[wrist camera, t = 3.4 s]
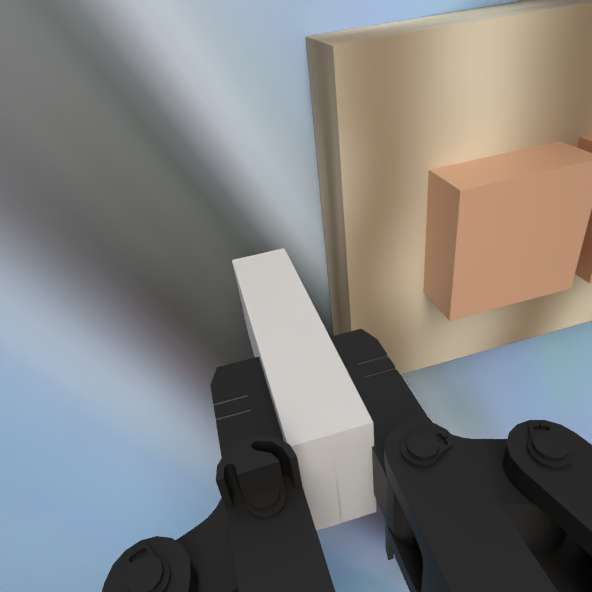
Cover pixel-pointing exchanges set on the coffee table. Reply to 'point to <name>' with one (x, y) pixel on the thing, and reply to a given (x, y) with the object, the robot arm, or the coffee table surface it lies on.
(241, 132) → the coffee table surface
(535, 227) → the tile front
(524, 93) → the board
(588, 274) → the tile rear
